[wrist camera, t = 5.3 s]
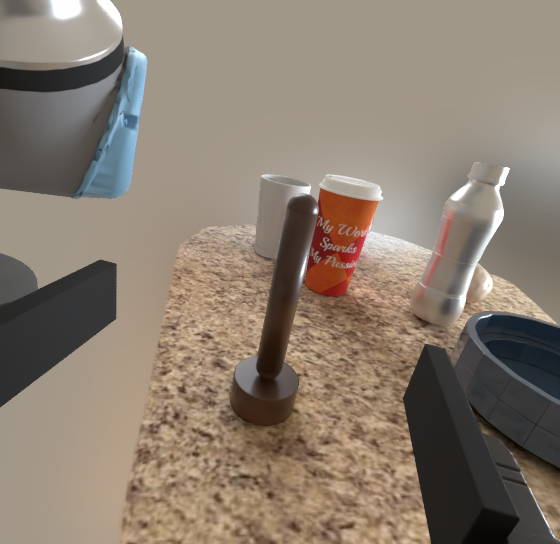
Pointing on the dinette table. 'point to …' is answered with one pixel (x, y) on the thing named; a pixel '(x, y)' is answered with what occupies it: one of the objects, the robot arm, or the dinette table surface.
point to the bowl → (513, 377)
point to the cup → (274, 211)
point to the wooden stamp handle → (277, 325)
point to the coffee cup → (340, 232)
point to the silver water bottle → (459, 245)
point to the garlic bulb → (479, 285)
